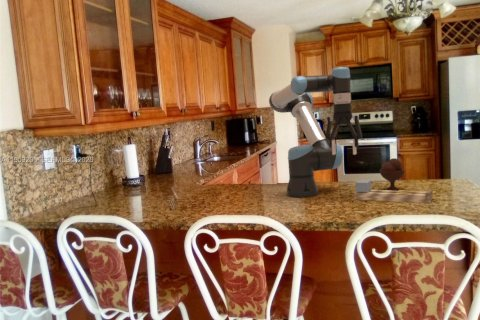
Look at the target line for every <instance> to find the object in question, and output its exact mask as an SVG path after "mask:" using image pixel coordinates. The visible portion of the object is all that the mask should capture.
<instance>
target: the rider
mask: <svg viewBox="0 0 480 320" xmlns="http://www.w3.org/2000/svg"><path fill="white" fill-rule="evenodd" d="M372 188H373V187H372V179H358V180H357V181H356V182H355V192H369V191H370V190H373V189H372Z"/></svg>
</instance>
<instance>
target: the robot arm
mask: <svg viewBox="0 0 480 320" xmlns="http://www.w3.org/2000/svg"><path fill="white" fill-rule="evenodd" d="M321 92H322V93H323V92H324V93H330V92H332V100H333V116H327V118H326V121H327V124H326V130H325V131H326V132H325V134H324V132H323V130H322V128H321V126H320V124H319V122H318V120H317V119H316V117H315V115H314V113H313V111H312V109H313V106H314V100H313V96H312V94H311V93H321ZM351 102H352V94H351V72H350V68H349V67H348V66H343V67H342V66H340V67H334V68H332V71H331V74H321V75H319V74H318V75H298V76H293V77H292V78H291V81H290V83H289V84H288V85H287V86H285V87H284V88H282V89H281V90H279V89H278V90H276V91H274V92H272V93H271V94H270V96H269V99H268V104H269V107H270V108H271V109H272V110H273V111H275V112H277V113H281V114H282V113H290V114H291V116H292V117H293V118H295V119H297V121H298V123H299V125H300V127H301V129H302V131H303V134H304V135H305V138H306V139H307V142H308V143H309V144H300V145H296V146H292V147H290V148H289V149H288V152H287V154H288V155H287V160H288V177H289V180H288V184H287V187H286V196H288V197H291V198H309V197H314V196H316V195H317V196H318V195H319V188H318V186H317V182H316V179H315V176H314V174H315V173H314V172H319V171H327V170H328V171H329V170H333V169H334V170H335V169H339V168H340V167H341V165H342V162H343V149H342V148H341V146H340V145H339V144H336V139H334V138H335V136H336V134H337V132H338V130H339V127H340V125H341V126H342V125H346V126H347V128H348V129H349V132H350V133H351V135H352V137H353V139H352V155H355V156H356V155H357V154H358V152H357V151H358V150H357V148H358V147H359V140H360V139H361V138H363V132H362V129H361V125H360V115H358V114H356V115H355V114H354V115H353V113H352V104H351ZM352 119H353V121H354V125H355V128H354V126H353V124H352V121H351V120H352ZM333 121H334V122H335V124H334V126H333V128H332V125H333ZM355 129H356V130H355ZM331 130H332V131H331Z"/></svg>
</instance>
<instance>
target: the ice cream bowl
mask: <svg viewBox="0 0 480 320" xmlns="http://www.w3.org/2000/svg"><path fill="white" fill-rule="evenodd" d="M381 165H382V166H381V169H379V174H380V175H381V177H382V178H383V179H384V180H386V181H388V182H389V184H390V186H388V187H387V188H386V189H385V190H391V191H397V190H398V191H399V190H400V189H399V188H398V187H396V186H395V182H396V181H398V180H400V179H402V178H403V176H404V174H405V172H406V170H405V169H403V166H402V162H401V161H400V159H398V158H391V159H389V160H388V161H386V162H384V163H383V164H381Z"/></svg>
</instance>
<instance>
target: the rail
mask: <svg viewBox="0 0 480 320" xmlns="http://www.w3.org/2000/svg"><path fill="white" fill-rule="evenodd" d="M433 194H434V193H433V189H427V190H426V191H421V190H420V191H415V190H404V189H399V190H398V191H391V190H386V189H385V190H384V189H383V190H382V189H371V190H370V191H369V192H356V191H355V192H354V200H359V201H376V202H377V201H378V202H400V203H401V202H402V203H416V204H417V203H418V204H419V203H422V204H431V203H432V201H433V199H434V198H433Z"/></svg>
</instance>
